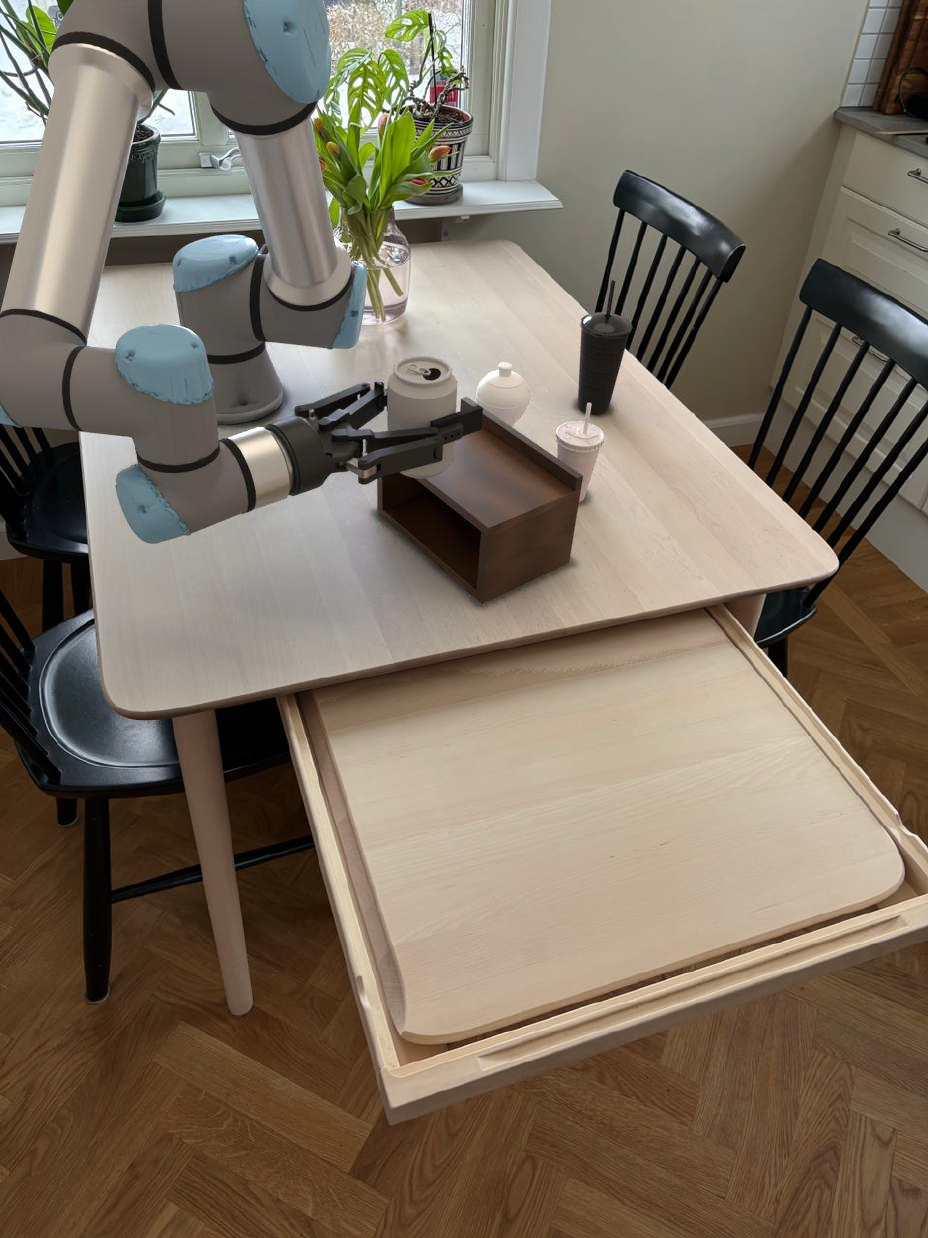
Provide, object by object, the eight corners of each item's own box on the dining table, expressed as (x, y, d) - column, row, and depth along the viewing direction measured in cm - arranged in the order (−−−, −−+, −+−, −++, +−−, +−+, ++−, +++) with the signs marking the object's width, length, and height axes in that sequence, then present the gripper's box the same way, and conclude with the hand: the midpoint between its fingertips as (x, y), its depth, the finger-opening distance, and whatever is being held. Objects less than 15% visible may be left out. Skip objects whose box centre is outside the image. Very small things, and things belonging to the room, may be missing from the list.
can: (445, 487, 106) (449, 388, 98) (379, 476, 107) (379, 378, 99) (459, 452, 112) (465, 356, 104) (397, 442, 113) (397, 346, 105)
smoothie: (592, 511, 128) (608, 419, 119) (545, 504, 129) (557, 412, 120) (596, 485, 133) (611, 394, 124) (550, 479, 134) (562, 387, 124)
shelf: (461, 479, 132) (466, 396, 124) (569, 562, 120) (583, 475, 111) (377, 512, 125) (376, 426, 117) (482, 603, 113) (489, 514, 104)
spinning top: (520, 457, 137) (528, 381, 129) (468, 449, 138) (473, 373, 130) (528, 431, 143) (537, 356, 135) (478, 423, 144) (483, 348, 136)
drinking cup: (583, 423, 145) (603, 294, 132) (559, 399, 151) (576, 273, 137) (626, 414, 148) (650, 288, 135) (601, 391, 153) (622, 267, 140)
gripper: (232, 448, 105) (404, 393, 116) (331, 543, 93) (512, 472, 104) (224, 386, 100) (405, 334, 111) (328, 477, 88) (519, 410, 99)
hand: (457, 401), depth 107 cm, fingers closed on can, 7 cm apart
